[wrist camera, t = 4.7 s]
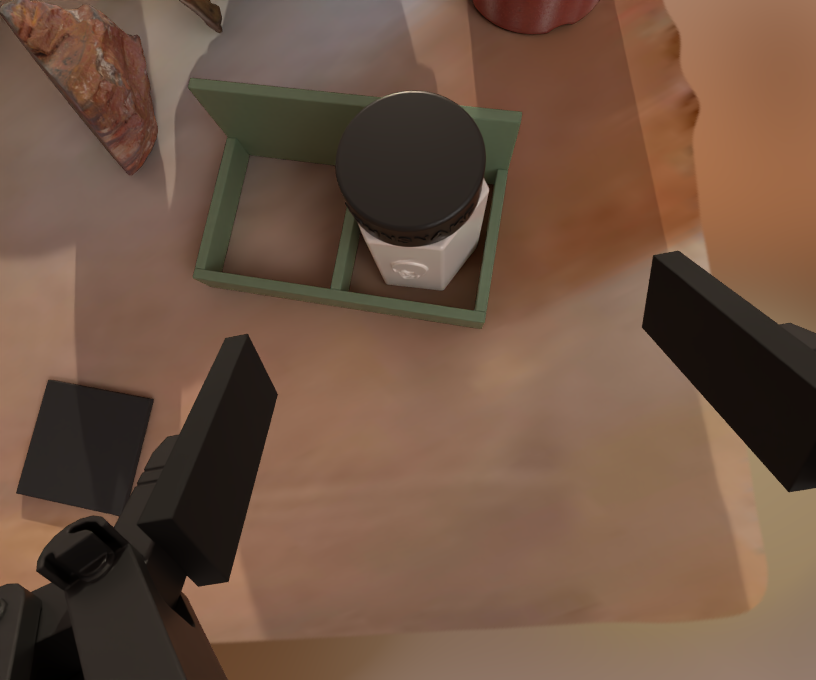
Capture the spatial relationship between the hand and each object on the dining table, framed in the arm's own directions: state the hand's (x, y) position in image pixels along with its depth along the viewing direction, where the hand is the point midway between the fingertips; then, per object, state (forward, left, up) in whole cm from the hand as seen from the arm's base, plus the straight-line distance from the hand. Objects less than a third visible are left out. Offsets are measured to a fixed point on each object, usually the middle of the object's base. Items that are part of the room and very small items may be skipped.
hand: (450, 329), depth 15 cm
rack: (-9, +10, -19) cm, 23 cm away
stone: (-30, +18, -19) cm, 40 cm away
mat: (-27, -10, -19) cm, 35 cm away
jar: (-4, +10, -19) cm, 22 cm away
